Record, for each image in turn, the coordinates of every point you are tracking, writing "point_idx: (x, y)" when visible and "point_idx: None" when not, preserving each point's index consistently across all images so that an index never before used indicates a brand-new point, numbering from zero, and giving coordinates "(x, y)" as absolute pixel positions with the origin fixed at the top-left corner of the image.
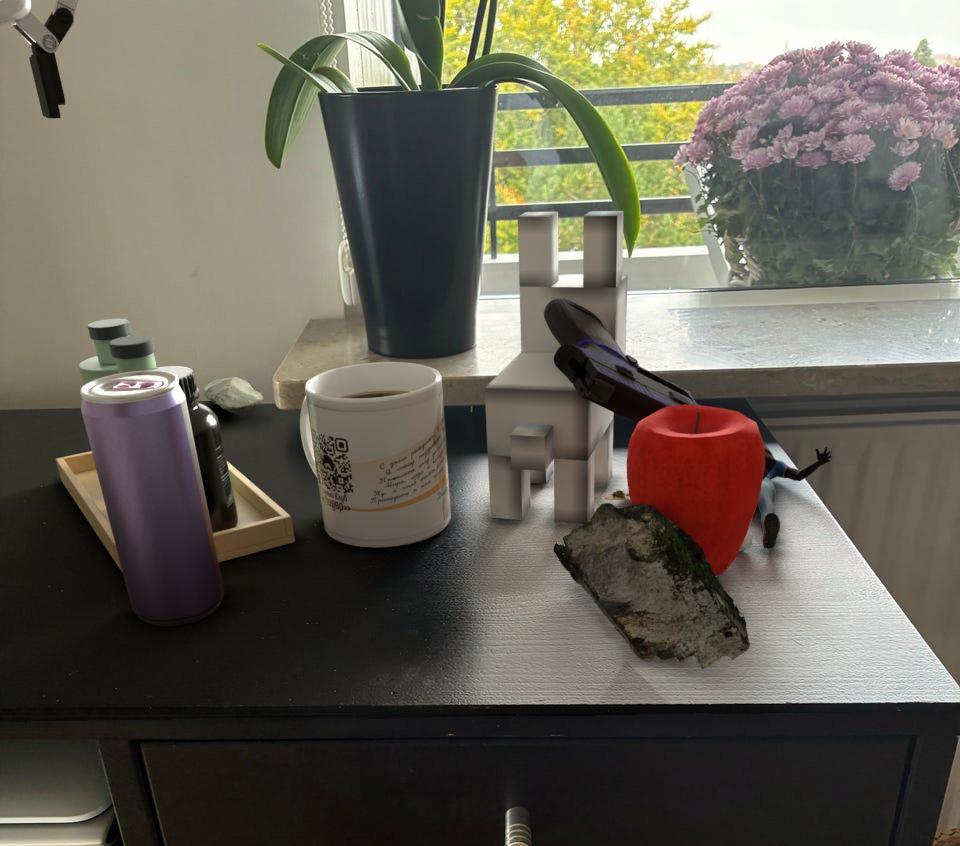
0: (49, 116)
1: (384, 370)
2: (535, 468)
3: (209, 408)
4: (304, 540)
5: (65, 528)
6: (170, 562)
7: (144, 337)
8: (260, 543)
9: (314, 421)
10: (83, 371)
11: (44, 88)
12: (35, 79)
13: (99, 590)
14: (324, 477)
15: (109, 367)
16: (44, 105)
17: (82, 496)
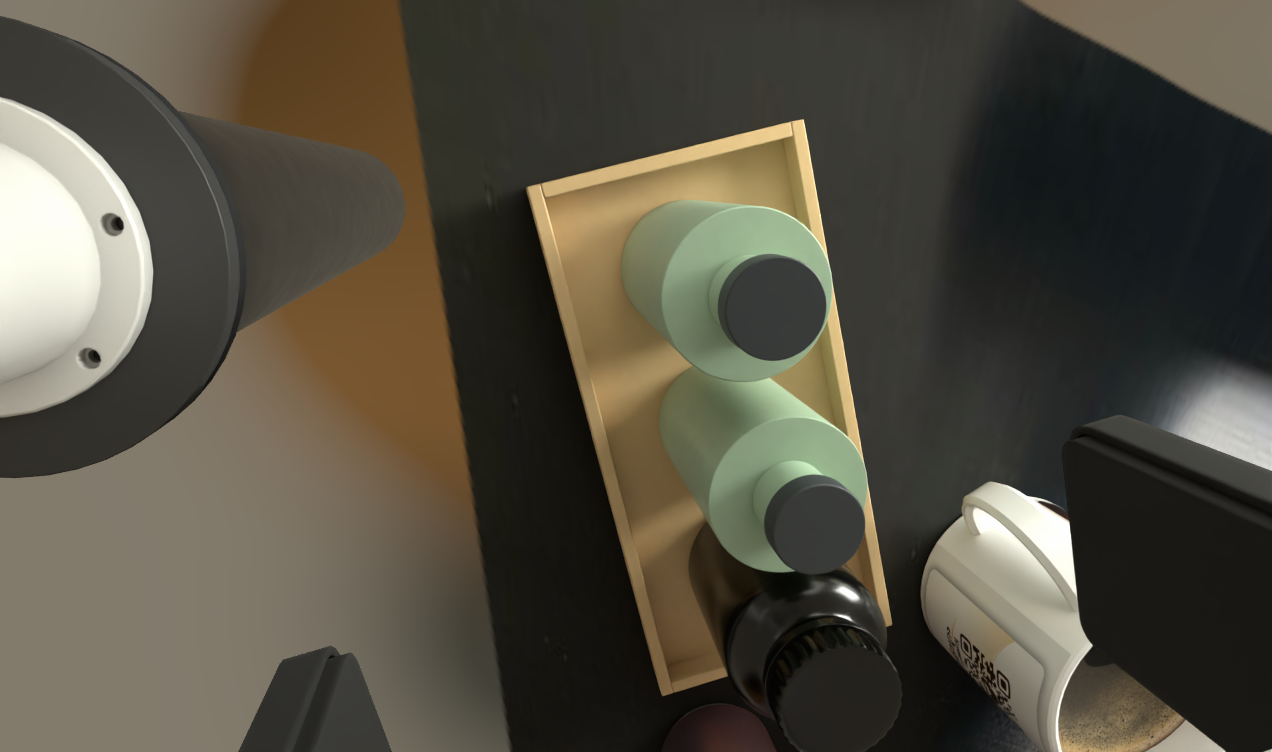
0: (1080, 619)
1: None
2: None
3: (884, 641)
4: None
5: (552, 436)
6: None
7: (849, 519)
8: None
9: (1020, 710)
10: (671, 341)
11: (1191, 721)
12: (1219, 558)
13: (613, 670)
14: (971, 665)
15: (731, 357)
16: (1111, 578)
17: (593, 433)
